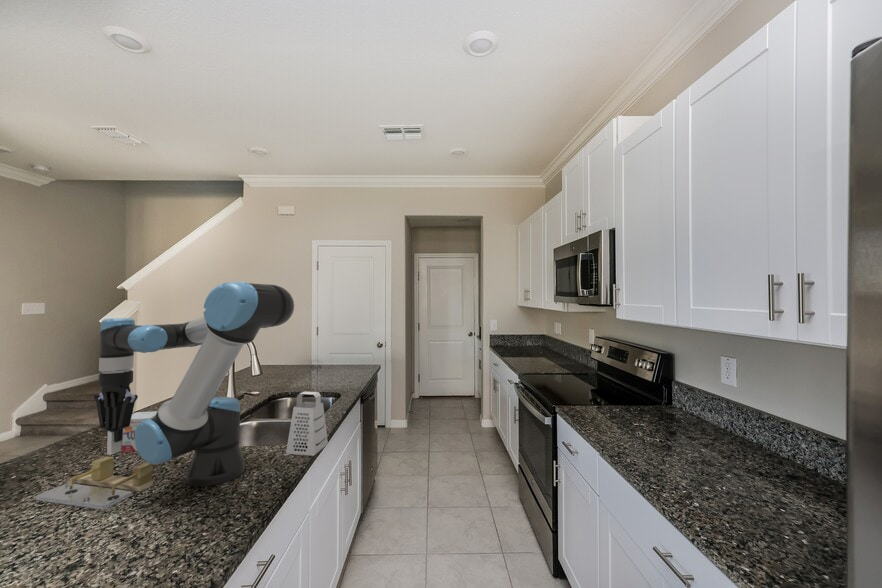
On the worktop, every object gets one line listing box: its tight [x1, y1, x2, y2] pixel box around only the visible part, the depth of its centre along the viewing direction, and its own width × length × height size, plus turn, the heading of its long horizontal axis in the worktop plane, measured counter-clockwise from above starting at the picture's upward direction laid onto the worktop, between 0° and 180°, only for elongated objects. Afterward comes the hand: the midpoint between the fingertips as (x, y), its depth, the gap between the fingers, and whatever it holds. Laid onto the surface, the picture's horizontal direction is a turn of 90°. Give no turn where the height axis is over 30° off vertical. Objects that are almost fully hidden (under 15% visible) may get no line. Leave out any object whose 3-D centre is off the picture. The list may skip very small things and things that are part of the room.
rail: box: [76, 461, 154, 495], centre depth 100 cm, size 22×10×6 cm, turn 79°
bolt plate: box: [35, 482, 133, 511], centre depth 96 cm, size 22×7×1 cm, turn 79°
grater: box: [285, 391, 329, 457], centre depth 130 cm, size 10×10×20 cm
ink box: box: [121, 410, 158, 454], centre depth 129 cm, size 9×9×12 cm
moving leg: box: [68, 455, 115, 489], centre depth 101 cm, size 3×10×5 cm, turn 169°
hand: (114, 452), depth 104 cm, fingers closed
